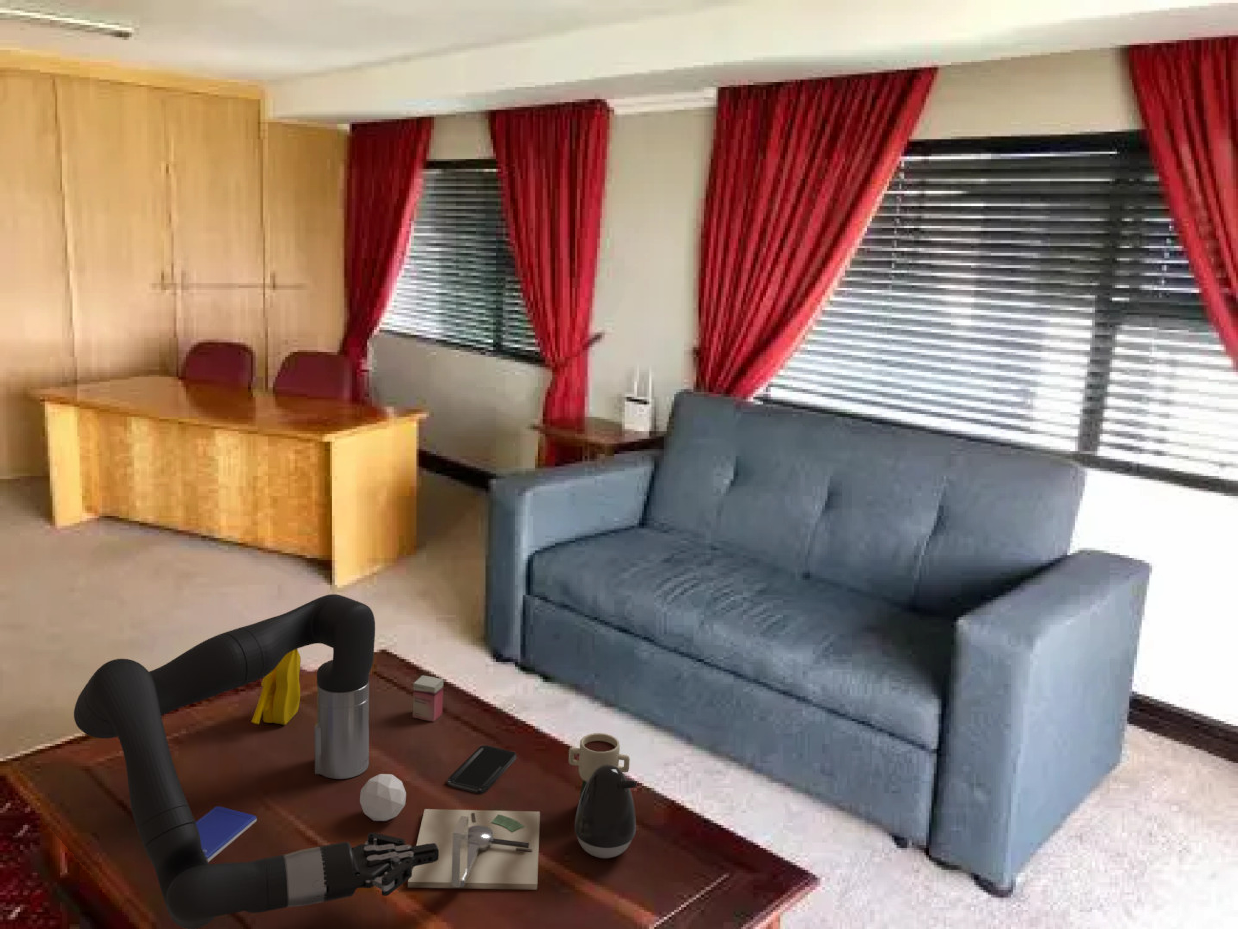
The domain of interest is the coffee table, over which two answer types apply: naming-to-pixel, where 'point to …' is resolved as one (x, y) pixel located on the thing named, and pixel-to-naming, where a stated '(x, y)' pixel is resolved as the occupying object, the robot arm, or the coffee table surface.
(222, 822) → the hard drive
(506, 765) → the phone
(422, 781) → the coffee table surface
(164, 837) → the robot arm
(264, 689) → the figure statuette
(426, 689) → the small box
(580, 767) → the character mug
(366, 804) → the geometric ball
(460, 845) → the key
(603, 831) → the pump dispenser
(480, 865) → the dial board
